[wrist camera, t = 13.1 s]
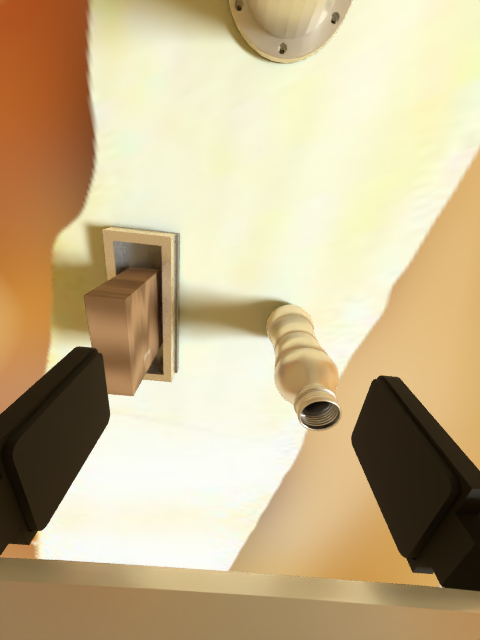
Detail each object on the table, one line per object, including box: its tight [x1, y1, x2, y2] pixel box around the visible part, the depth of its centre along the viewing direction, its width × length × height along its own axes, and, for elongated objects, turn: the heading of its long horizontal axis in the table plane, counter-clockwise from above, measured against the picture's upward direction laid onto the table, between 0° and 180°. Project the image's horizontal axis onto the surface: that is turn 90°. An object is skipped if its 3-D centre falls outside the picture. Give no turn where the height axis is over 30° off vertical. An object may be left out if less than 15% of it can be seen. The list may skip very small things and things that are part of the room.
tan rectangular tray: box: [102, 226, 180, 382], centre depth 39 cm, size 22×9×4 cm, turn 174°
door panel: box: [84, 267, 162, 396], centre depth 34 cm, size 12×4×12 cm, turn 174°
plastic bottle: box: [266, 305, 341, 431], centre depth 32 cm, size 6×7×20 cm
